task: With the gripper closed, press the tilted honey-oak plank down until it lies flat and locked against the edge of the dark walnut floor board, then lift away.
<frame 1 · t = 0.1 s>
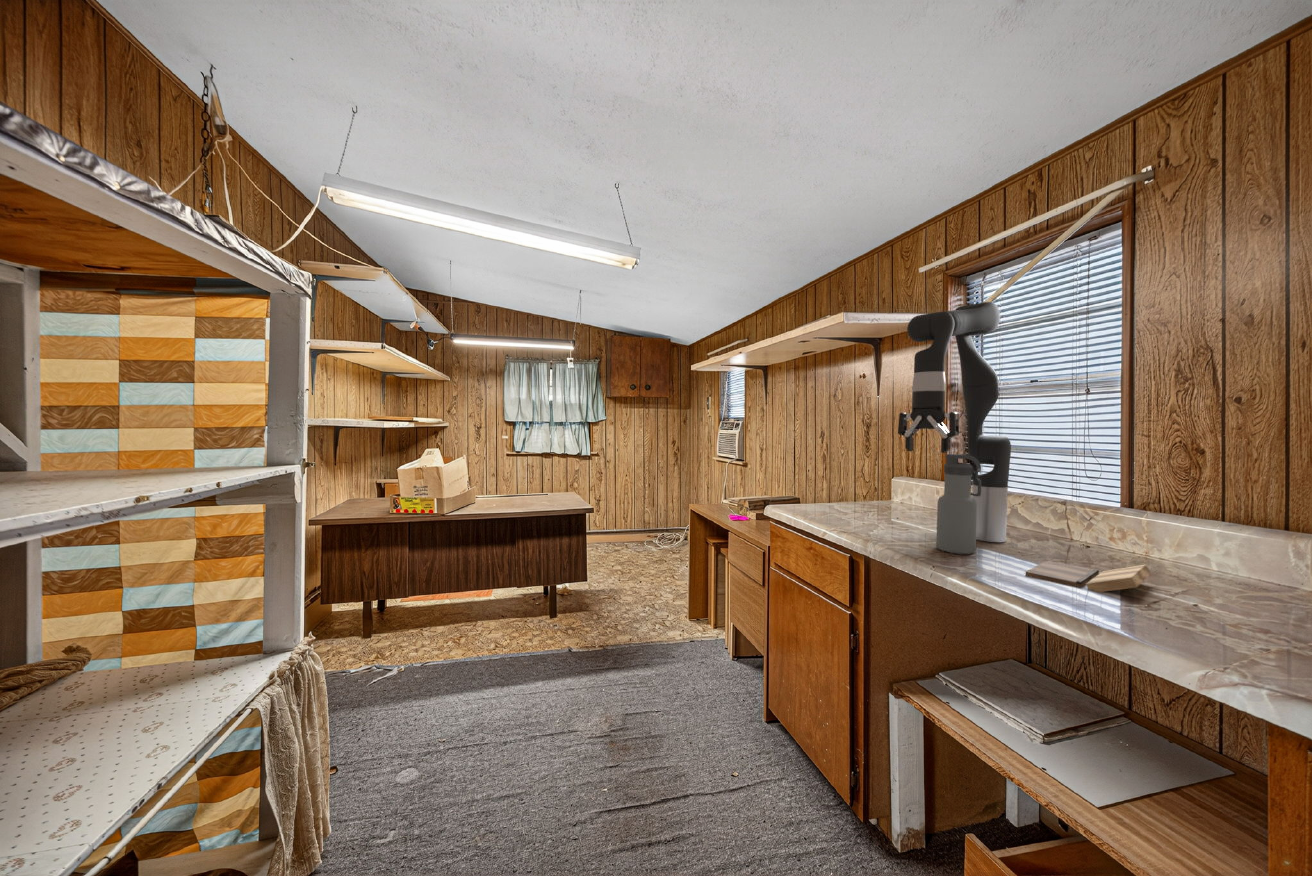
hand: (926, 452, 126), 29 cm above the counter, fingers open, 8 cm apart
water bottle: (956, 551, 140), on the counter
oak plank: (1118, 578, 106), point 3 cm above the counter, hinge at 25.0°
walnut board: (1062, 579, 114), on the counter
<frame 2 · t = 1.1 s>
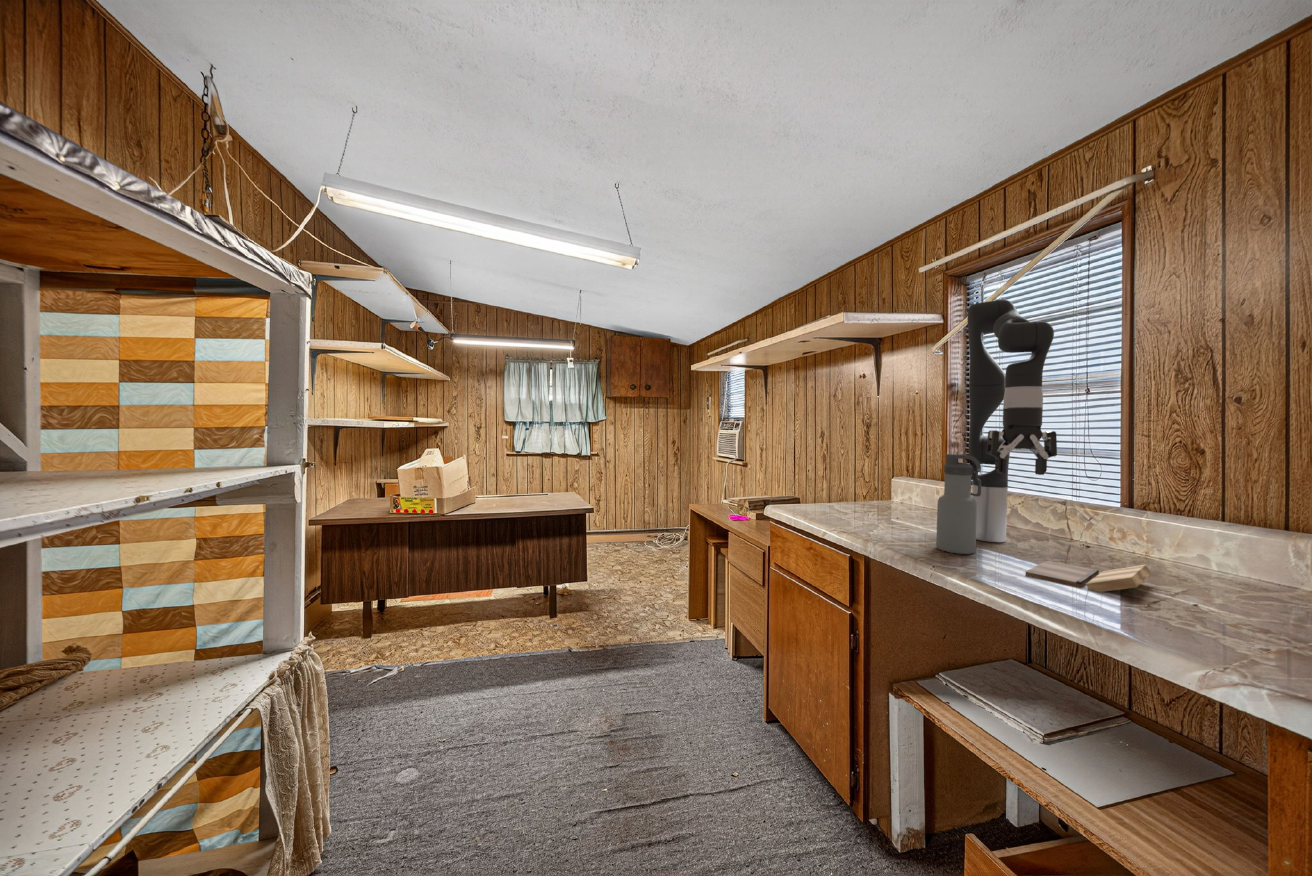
hand: (1020, 474, 115), 25 cm above the counter, fingers open, 8 cm apart
nothing on the counter moved.
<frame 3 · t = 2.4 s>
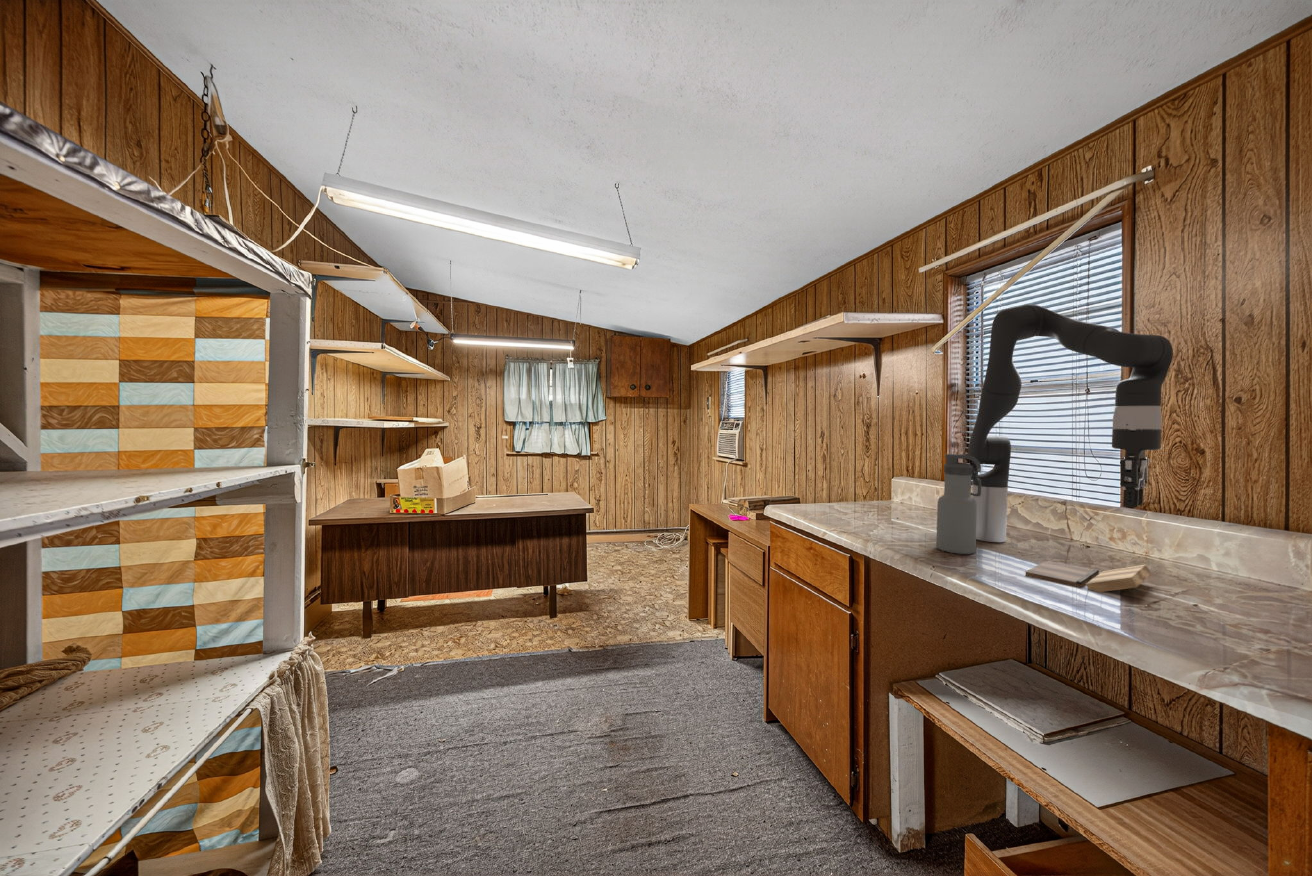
hand: (1133, 505, 104), 19 cm above the counter, fingers open, 4 cm apart
nothing on the counter moved.
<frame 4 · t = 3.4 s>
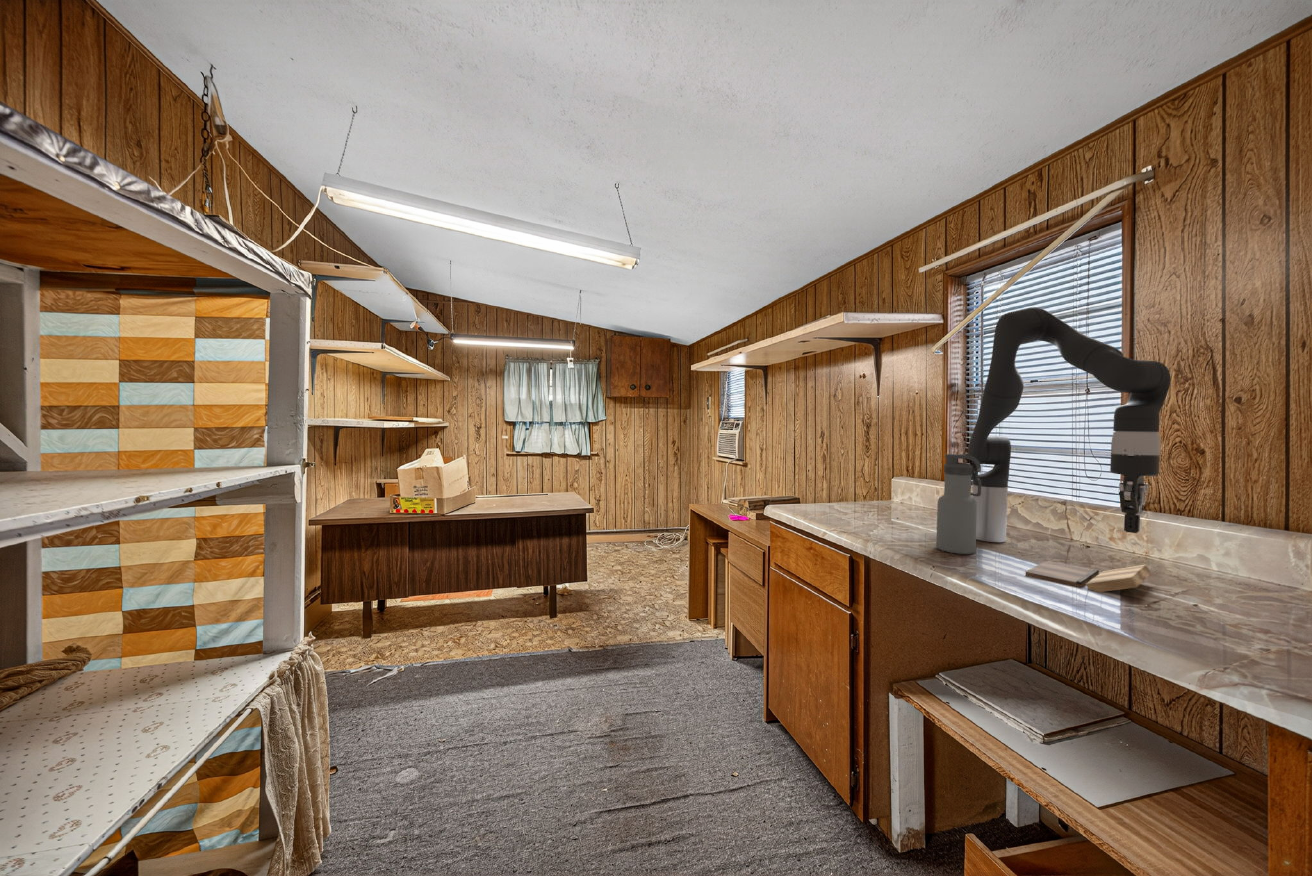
hand: (1131, 532, 104), 14 cm above the counter, fingers closed
nothing on the counter moved.
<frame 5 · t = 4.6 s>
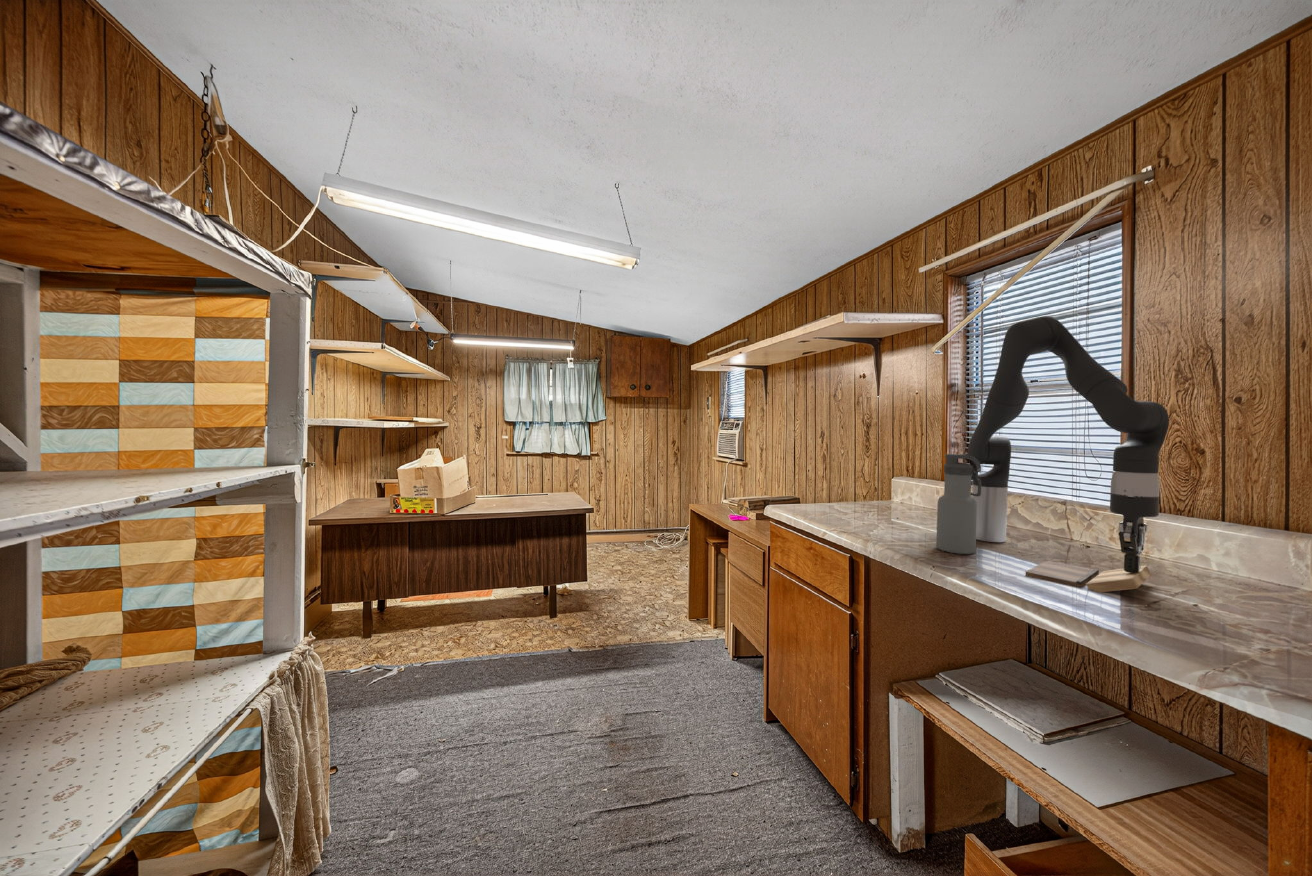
hand: (1131, 572, 104), 5 cm above the counter, fingers closed
oak plank: (1119, 579, 106), point 3 cm above the counter, hinge at 23.2°, touching gripper
everything else where it was.
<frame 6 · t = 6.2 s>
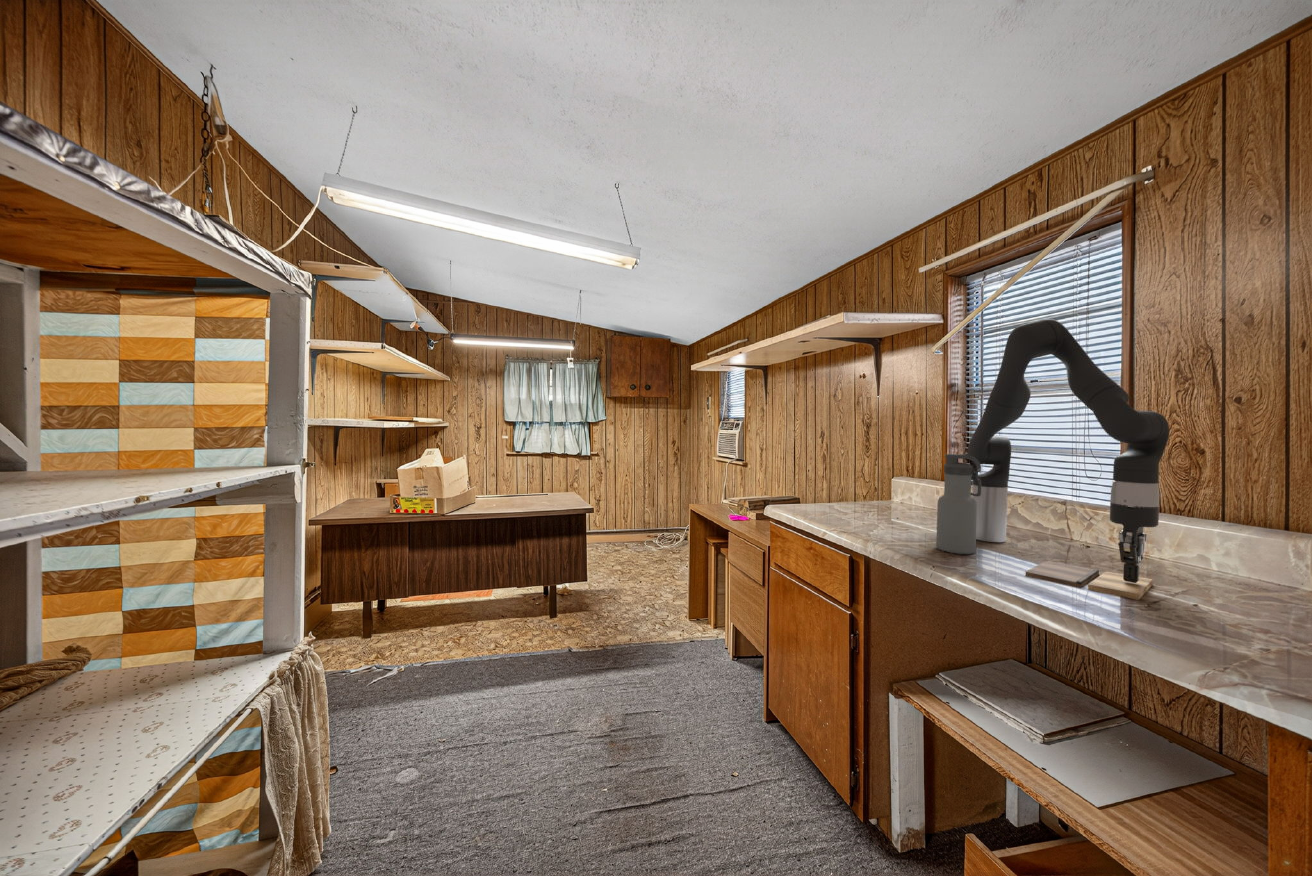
hand: (1130, 581, 105), 3 cm above the counter, fingers closed
oak plank: (1120, 586, 106), point 1 cm above the counter, hinge at 1.5°
everything else where it was.
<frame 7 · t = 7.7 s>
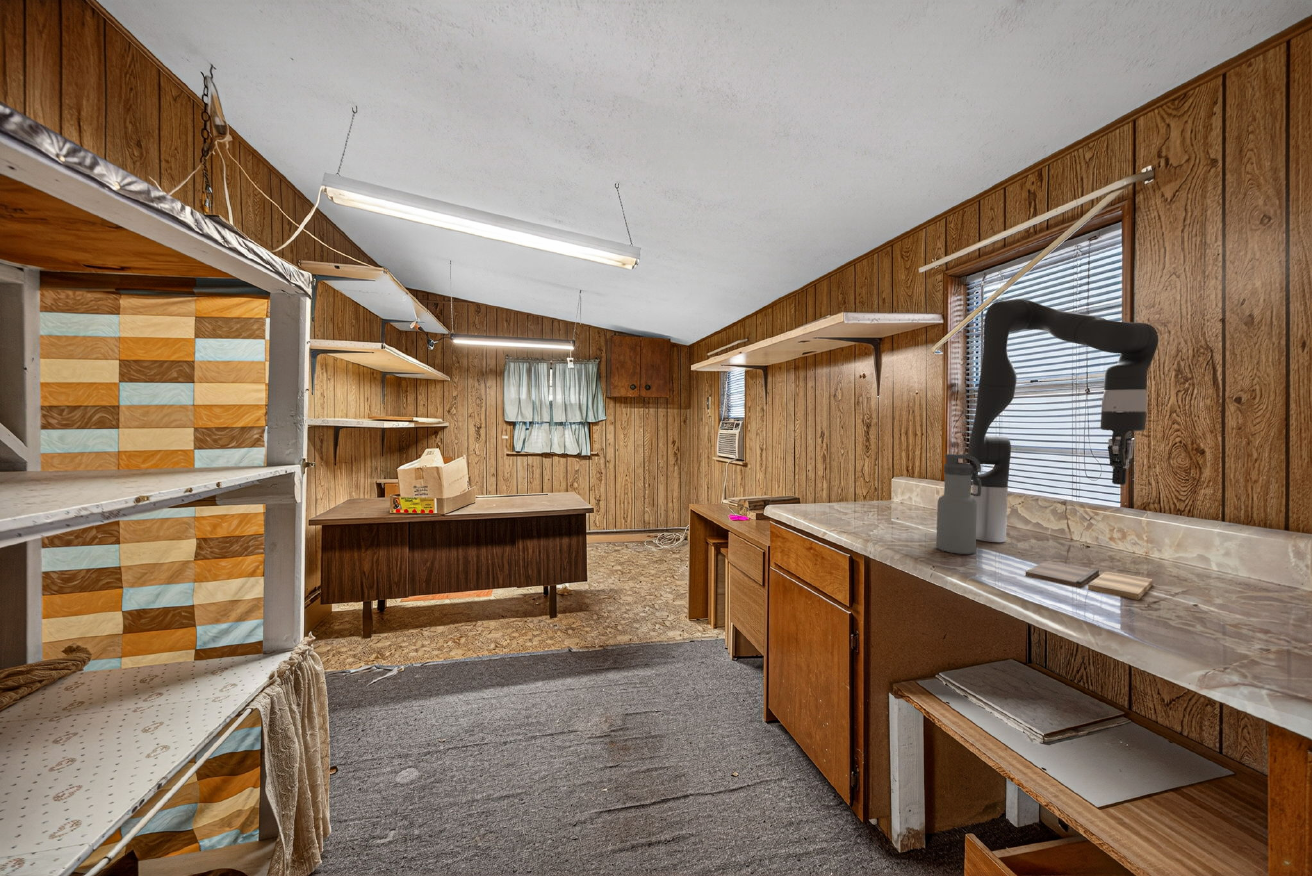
hand: (1119, 484, 112), 23 cm above the counter, fingers closed
nothing on the counter moved.
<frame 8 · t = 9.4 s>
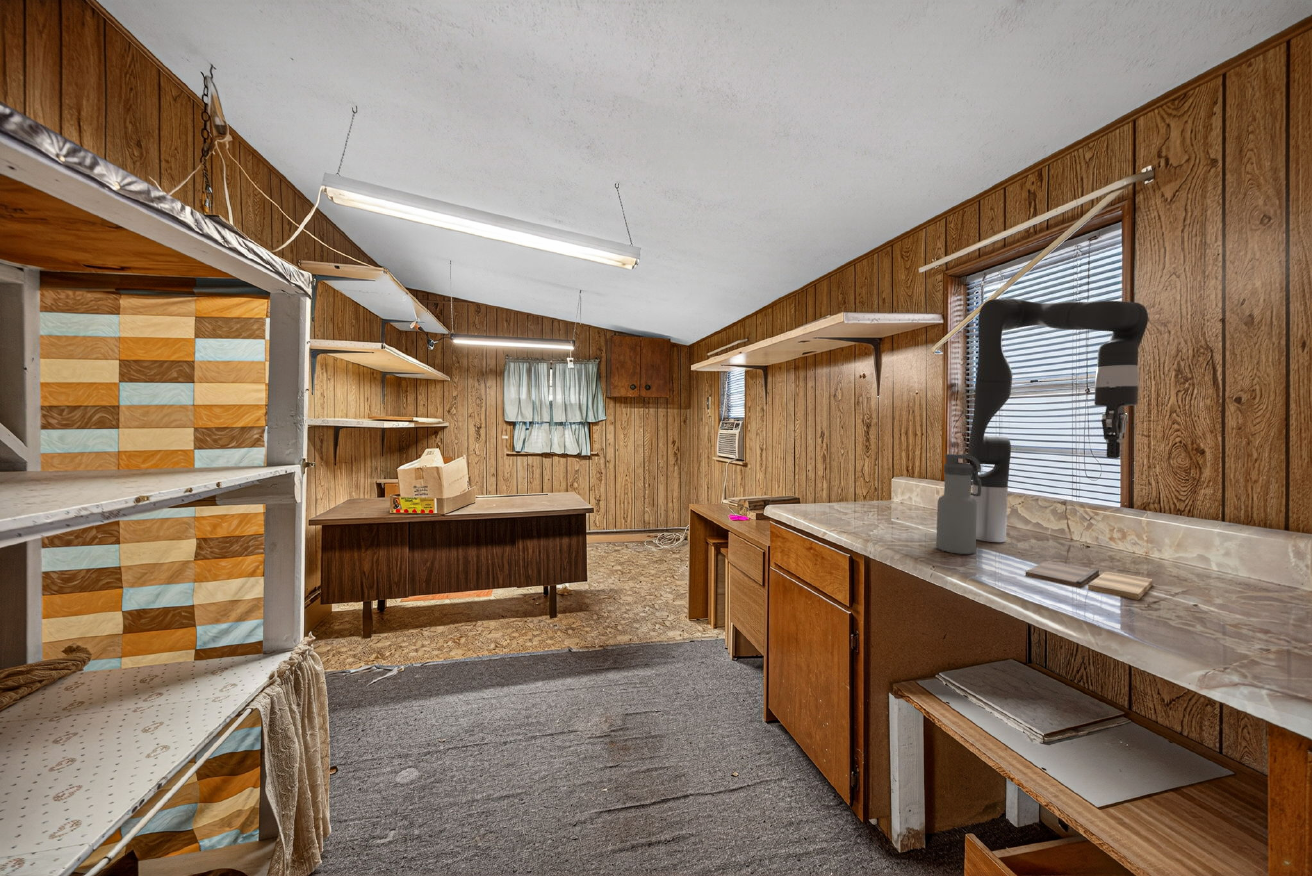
hand: (1113, 457, 116), 29 cm above the counter, fingers closed
nothing on the counter moved.
at the end: oak plank at +1° (first picture: +25°) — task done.
